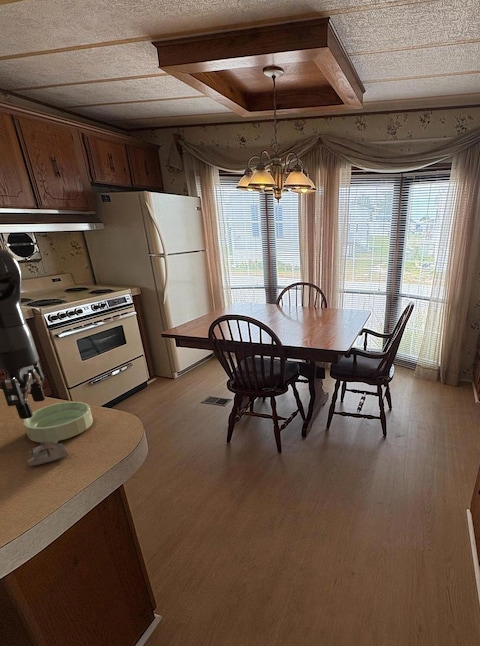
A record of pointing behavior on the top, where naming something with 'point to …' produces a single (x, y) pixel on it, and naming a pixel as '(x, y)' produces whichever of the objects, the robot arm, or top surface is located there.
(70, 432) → the bowl
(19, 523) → the top surface
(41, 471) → the top surface
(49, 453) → the crumpled paper
